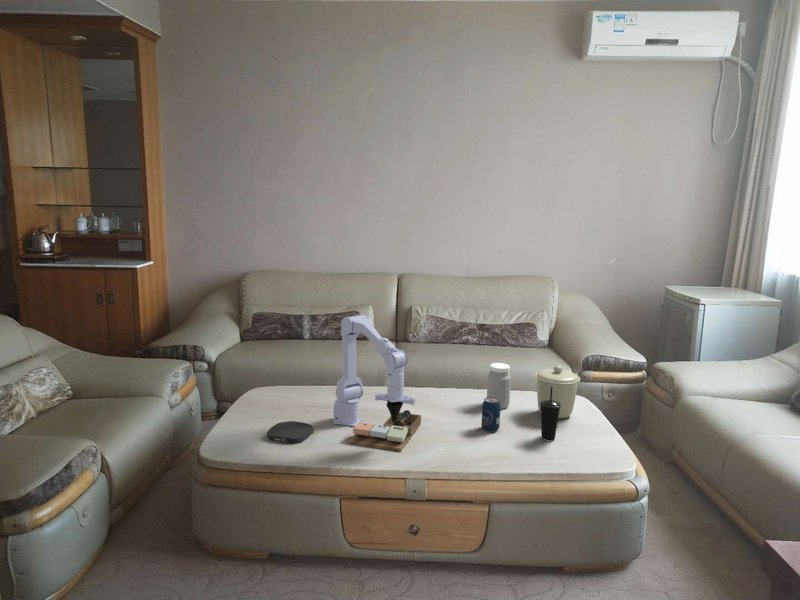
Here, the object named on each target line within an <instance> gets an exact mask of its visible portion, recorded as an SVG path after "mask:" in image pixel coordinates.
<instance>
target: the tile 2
mask: <svg viewBox="0 0 800 600" xmlns="http://www.w3.org/2000/svg"><path fill="white" fill-rule="evenodd" d="M390 428H391V427H389V426H383V424H382V425H380V424H374V427H373V428H372V429H371V430H370V436H374V437H381V438H386V437H387V434H388V432H389V430H390Z"/></svg>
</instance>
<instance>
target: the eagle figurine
mask: <svg viewBox="0 0 800 600" xmlns="http://www.w3.org/2000/svg"><path fill="white" fill-rule="evenodd" d="M411 414H412V413H411V411H410V410H408V409H407V410H404V411H402V412H401V414H400V417H399V419H398V420H397V421H396V422H391V423H392V424H393V425H394V424H395V425H396V426H402V427H408V426H407V423H408V422H406V423H404V421H405V420H407V419H408V418H409V417H410V415H411Z"/></svg>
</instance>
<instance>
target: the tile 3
mask: <svg viewBox="0 0 800 600" xmlns="http://www.w3.org/2000/svg"><path fill="white" fill-rule="evenodd" d="M393 425H394V424H393ZM393 425H392V426H391V428H390V430H389V432H388V434H387V440H390V441H397V442H403V441H404V439H405V437H406V435H407V432H408V429H407V427H408V426H407V427H400V426H398V425H395V426H393Z"/></svg>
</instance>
